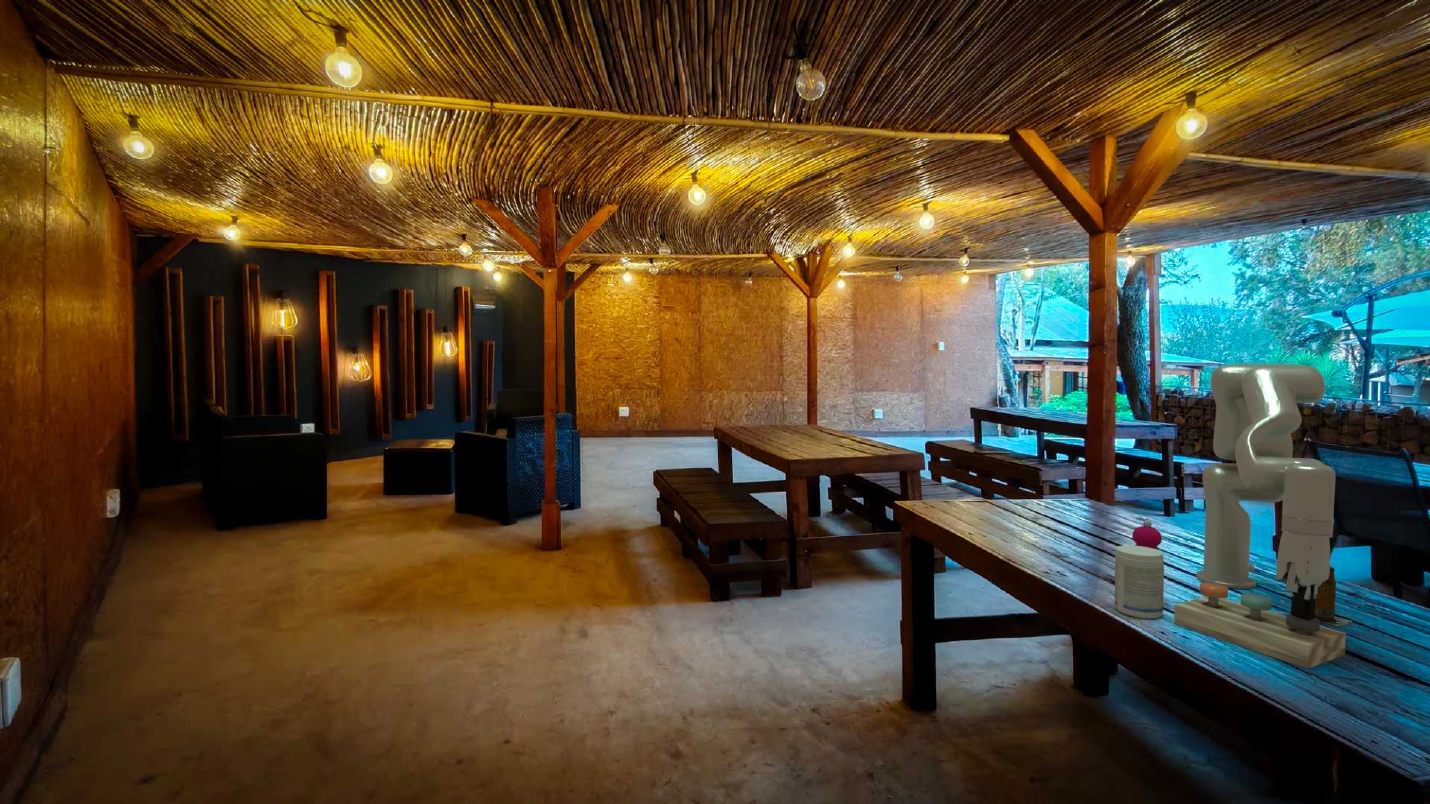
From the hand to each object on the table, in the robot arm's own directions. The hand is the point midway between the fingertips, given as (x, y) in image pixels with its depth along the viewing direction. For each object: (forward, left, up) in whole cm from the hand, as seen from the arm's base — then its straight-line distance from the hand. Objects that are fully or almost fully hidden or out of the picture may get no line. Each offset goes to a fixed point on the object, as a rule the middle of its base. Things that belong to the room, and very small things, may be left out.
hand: (1302, 617), depth 131 cm
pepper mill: (-2, -32, -8) cm, 33 cm away
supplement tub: (+7, -28, -8) cm, 30 cm away
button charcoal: (0, 0, -5) cm, 5 cm away
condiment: (-27, -8, -8) cm, 29 cm away
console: (0, -8, -7) cm, 11 cm away
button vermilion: (0, -16, -4) cm, 16 cm away
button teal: (0, -8, -4) cm, 9 cm away
